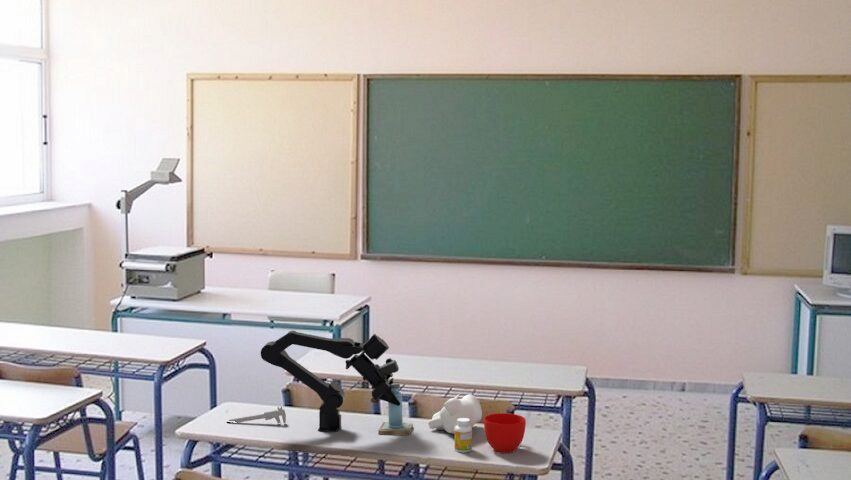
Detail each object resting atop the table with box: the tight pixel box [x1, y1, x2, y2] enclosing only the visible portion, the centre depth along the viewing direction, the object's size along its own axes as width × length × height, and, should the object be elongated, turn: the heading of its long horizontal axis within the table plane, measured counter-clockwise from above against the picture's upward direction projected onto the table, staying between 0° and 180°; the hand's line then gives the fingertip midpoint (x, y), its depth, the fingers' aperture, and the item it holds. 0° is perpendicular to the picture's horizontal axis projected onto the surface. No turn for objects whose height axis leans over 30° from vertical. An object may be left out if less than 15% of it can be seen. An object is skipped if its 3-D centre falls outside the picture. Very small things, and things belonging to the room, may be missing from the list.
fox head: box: [427, 393, 483, 435], centre depth 333 cm, size 13×17×20 cm
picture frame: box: [377, 421, 414, 436], centre depth 334 cm, size 10×10×1 cm
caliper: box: [228, 406, 287, 424], centre depth 341 cm, size 20×1×6 cm, turn 88°
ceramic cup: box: [483, 412, 527, 454], centre depth 315 cm, size 13×17×10 cm
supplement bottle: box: [453, 418, 473, 453], centre depth 313 cm, size 5×5×10 cm
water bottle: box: [387, 382, 404, 428], centre depth 334 cm, size 5×5×14 cm
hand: (400, 402), depth 333 cm, fingers open, 5 cm apart
